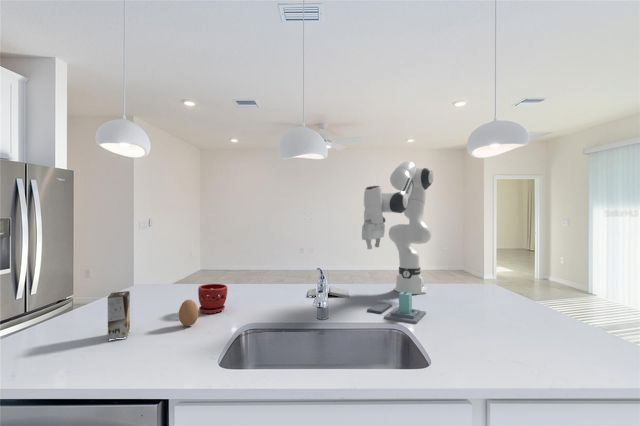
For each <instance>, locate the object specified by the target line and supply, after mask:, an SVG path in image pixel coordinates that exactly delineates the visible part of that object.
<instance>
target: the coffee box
mask: <svg viewBox="0 0 640 426" xmlns="http://www.w3.org/2000/svg"><path fill="white" fill-rule="evenodd" d="M130 301H131V299H130V291H129V290H128V291H127V290H126V291H118V292H111V293H110V294H109V295H108V296H107V340H108V339H116V338H124V337H127V336H128V337H129V335H128V333H129V334H130V332H129V330H131V323H130V322H131V316H130V315H131V313H130V311H131V307H130V306H131V305H130V304H131V303H130ZM128 337H127V338H128Z"/></svg>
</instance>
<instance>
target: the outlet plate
mask: <svg viewBox="0 0 640 426" xmlns="http://www.w3.org/2000/svg"><path fill="white" fill-rule="evenodd" d="M426 314H427V311H423V310H420V309H415V308H412V314H405V313H399V306H398V307H394V308H393V309H392V310H391V311H389V312H388V313H386V314H385V315H384V316H383V320H390V321H395V322H396V321H397V322H403V323H409V324H415V325H417V324H418V323H419V322H420V321H421V320H422V319H423V318H424V317H425V316H426Z"/></svg>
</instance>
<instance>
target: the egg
mask: <svg viewBox="0 0 640 426" xmlns="http://www.w3.org/2000/svg"><path fill="white" fill-rule="evenodd" d="M178 319H179V322H180V323H181V324H182V325H183V326H185V327H191V326H190V325H192V326H193V325H194V324H196V322H197V320H198V319H199V307H198V306H197V304H196V302H195V301H194V300H193V299H186V300H184V301H183V302H182V303H181V305H180V307H179V310H178Z"/></svg>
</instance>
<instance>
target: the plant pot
mask: <svg viewBox="0 0 640 426" xmlns="http://www.w3.org/2000/svg"><path fill="white" fill-rule="evenodd" d="M197 293H198V296H197V297H198V302H199V305H200V306H199V307H198V311H199V312H201V313H202V312H203V314H207V313H213V314H217V313H216V312H218V313H221V312H223V311H224V310H225V307H226V306H225V303H226V300H227V296H228V286H227V285H226V284H222V283H207V284H202V285H199V286H198V291H197ZM222 310H223V311H222ZM220 311H221V312H220Z"/></svg>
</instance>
